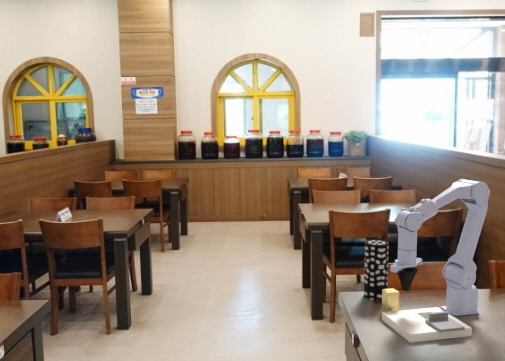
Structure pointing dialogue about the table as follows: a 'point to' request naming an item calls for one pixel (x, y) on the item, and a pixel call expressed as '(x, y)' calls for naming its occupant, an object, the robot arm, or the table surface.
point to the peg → (390, 300)
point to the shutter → (443, 322)
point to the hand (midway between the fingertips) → (405, 290)
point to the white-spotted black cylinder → (375, 268)
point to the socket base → (420, 325)
